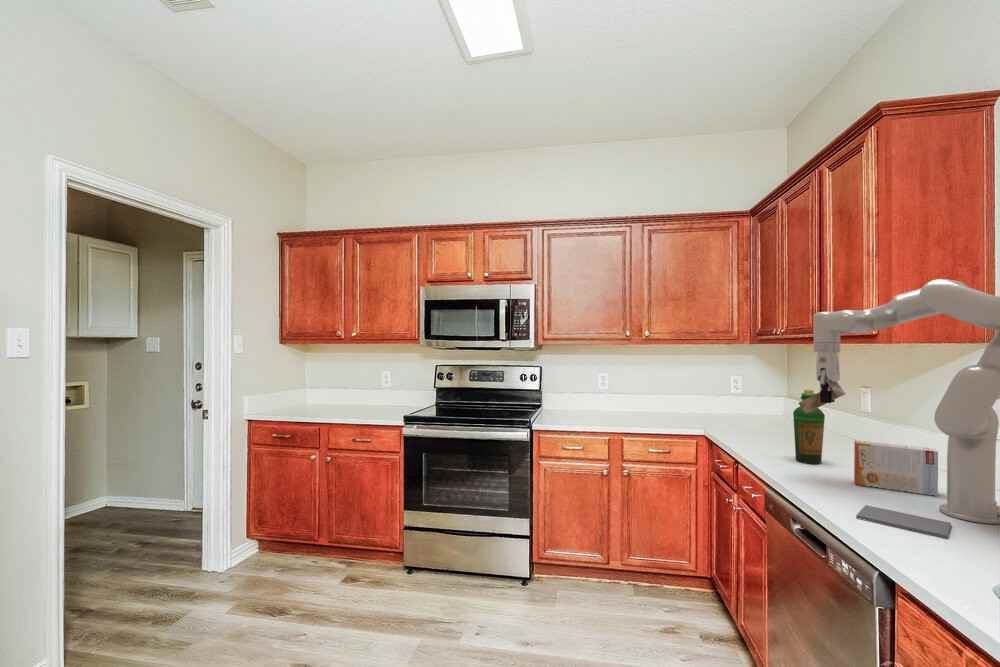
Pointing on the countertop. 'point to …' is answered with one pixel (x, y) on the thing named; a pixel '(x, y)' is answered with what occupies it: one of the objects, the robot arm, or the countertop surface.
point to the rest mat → (905, 521)
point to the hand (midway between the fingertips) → (827, 401)
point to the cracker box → (896, 467)
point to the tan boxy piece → (814, 400)
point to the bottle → (808, 433)
